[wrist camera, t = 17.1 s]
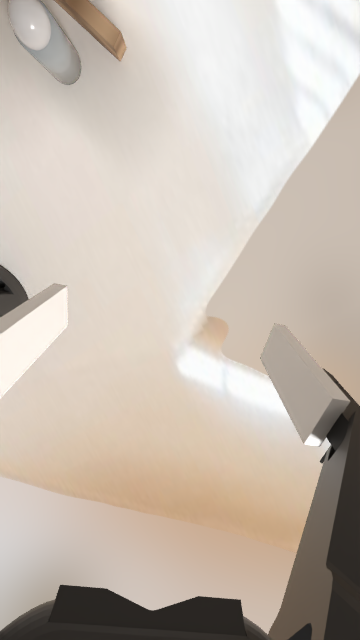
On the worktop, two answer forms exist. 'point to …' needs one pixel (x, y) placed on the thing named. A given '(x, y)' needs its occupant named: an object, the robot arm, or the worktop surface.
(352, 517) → the robot arm
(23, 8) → the shaker
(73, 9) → the dock
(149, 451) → the worktop surface
